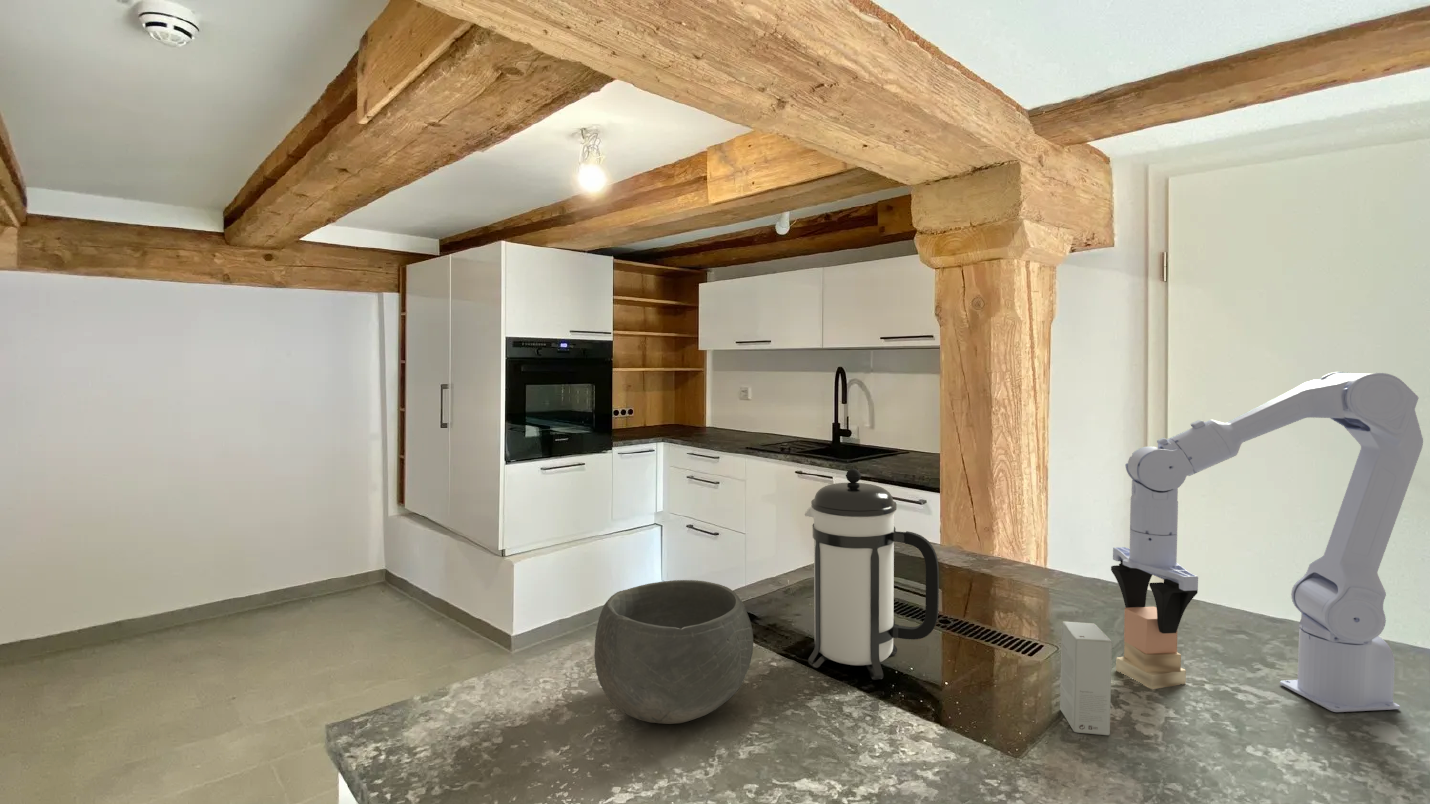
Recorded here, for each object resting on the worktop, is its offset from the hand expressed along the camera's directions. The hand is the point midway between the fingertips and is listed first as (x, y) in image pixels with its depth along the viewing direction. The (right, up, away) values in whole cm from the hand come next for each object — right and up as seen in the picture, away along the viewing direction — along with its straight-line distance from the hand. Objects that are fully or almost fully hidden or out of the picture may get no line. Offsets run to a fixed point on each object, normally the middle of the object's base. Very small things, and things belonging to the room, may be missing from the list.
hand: (1150, 623), depth 97 cm
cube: (0, -3, 0) cm, 3 cm away
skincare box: (-16, -9, -12) cm, 22 cm away
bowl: (-69, -9, -7) cm, 70 cm away
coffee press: (-40, -8, +7) cm, 42 cm away
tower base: (0, -8, 0) cm, 8 cm away
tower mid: (0, -6, 0) cm, 6 cm away
